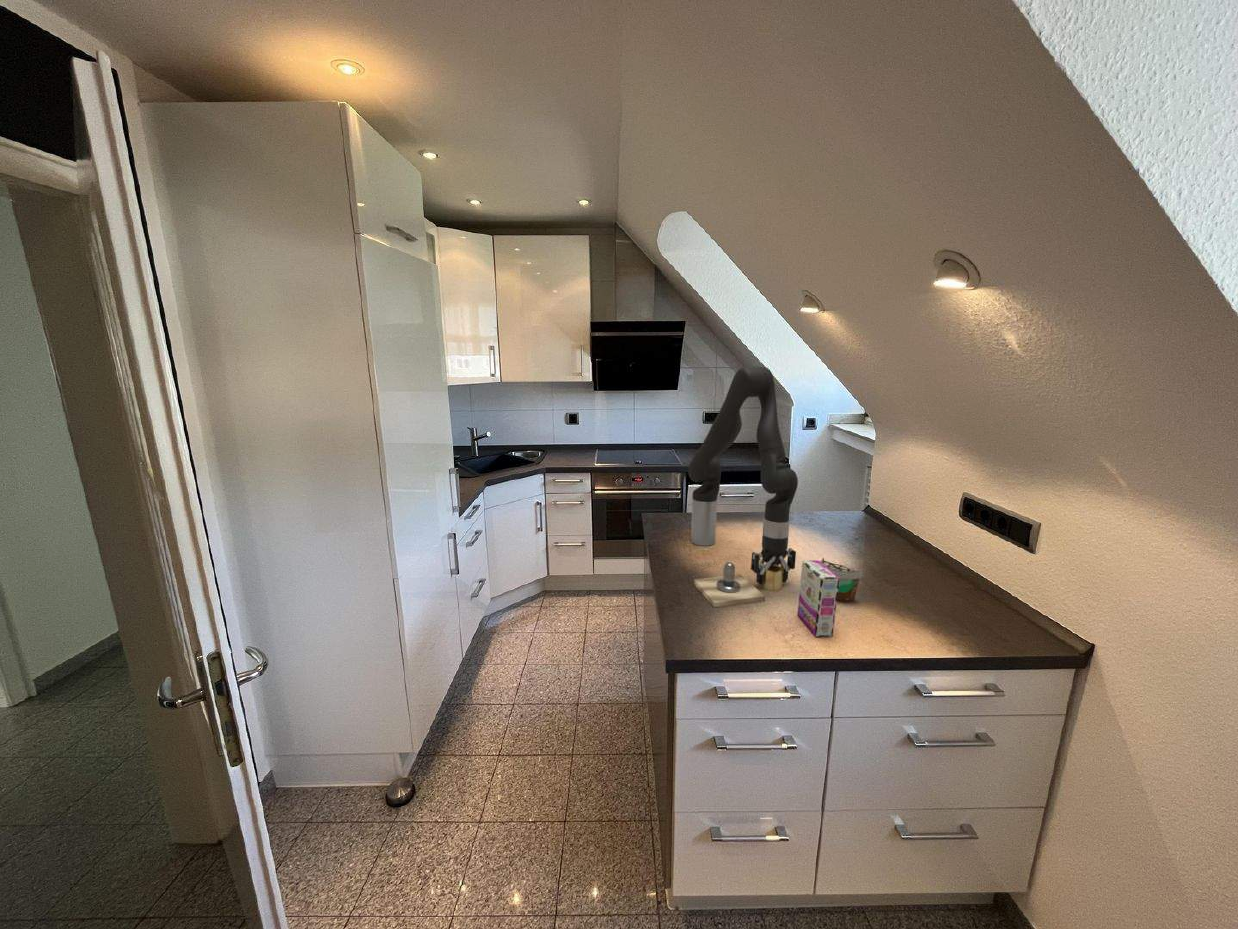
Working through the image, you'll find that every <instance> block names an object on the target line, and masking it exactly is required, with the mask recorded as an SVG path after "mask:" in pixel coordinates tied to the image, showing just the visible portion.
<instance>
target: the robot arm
mask: <svg viewBox="0 0 1238 929" xmlns="http://www.w3.org/2000/svg"><path fill="white" fill-rule="evenodd" d="M774 379H775V378H774V374H773V373H772V371H771V370H770V369H769V367H766V366H745V367H741V368H740V369H738V370H737V371H736V372H735V374H734V376H733V378H732V381H731V383H730V386H729V389H728V391H727V394H726V396H725V399H724V401H723V403H722V405H721V407H720V410H719V412H718V414H717V415H716V416H715V419H714V421H713V422H712V425H711V426H710V429H709V431H708V433H707V435H706V437H705V439H704V440H703V442H702V444H701V446H700V447H699V449H698V450H697V451H696V453H695V454H694V455H693V457H692V458H691V460H690V462H689V465H688V476H689V479H690V480H691V481H692V482H695V483H702V484H701V485H700V486H699V487H697V488H695V489H694V490H693V492H692V495H691V496H692V498H691V499H692V501H691V528H690V529H691V530H690V531H691V532H690V534H691V535H690V542H691V544H694V545H697V546H702V547H705V546H706V547H707V546H708V547H709V546H713V545H714V544H716V530H717V514H718V513H717V512H718V511H717V510H718V508H717V507H718V496H719V492H720V484H721V476H722V465H721V461H720V460H719V458H718V457H717V456H719V455H720V454H722V453H723V452H724V451H726V450H727V449H728V448H729V447H731V446H732V445H733V444H734V442H735V441H736V439H737V437H738V436H739V434H740V433H741V430H742V426H743V424H742V416H741V409H742V406H743V405H744V403H745V401H746V400H747V399H748V398H758V400H759V404H760V417H759V419H758V420H759V421H758V424H757V429H756V442H757V446H758V450H759V454H760V482H761V486H762V488H763V489H764V491H765V492H767V493H768V494H770V495H772V494H773V495H774V494H775V495H774V496H773V497H771V498H769V499H768V500H767V501H766V502H765V506H764V521H763V525H762V535H761V536H762V538H761V539H762V540H761V548H762V549H761V551H760V552H754V551H753V552H752V553H751V561H750V562H751V564H750V570H751V571H752V572H753V573H755V574H756V579H755V580H756V583H757V584H758V585H759V586H761V585H763V581H764V574H763V573H764V572H765V570H766V569H768V568H769V566H773V565H779V566H781V567H782V568H783V569H784V571H783V583H787V581H788V579H789V572H790V570H794V569H795V568H796V556H797V551H796V550H794V549H792V548H791V547H790V548H788V547H789V535H790V534H789V533H790V510H791V505H792V504H793V501H794V498H795V495H796V492H797V490H798V483H799V481H798V479H799V478H798V475H797V473H796V471H794V470H793V469H792V468H788V467H783V468H777V467H778V462H781V461H782V460H784V459H785V458H786V451H785V447H784V443H783V439H782V436H781V432H780V427H779V419H778V410H777V409H778V408H777V407H778V406H777V397H776V387H775V386H776V385H775V380H774ZM786 557H787V560H786Z"/></svg>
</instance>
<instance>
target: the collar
mask: <svg viewBox="0 0 1238 929" xmlns="http://www.w3.org/2000/svg"><path fill="white" fill-rule="evenodd" d="M783 571H784V569H783V568H782V567H781V565H773V566H769V568H768V569H766V570H765V572H764V573H763V574H764V581H763V585H760V586H761V587H762V588H763V589H765V590H768V591H773V592H775V591H780V590H781V589H782V588H783V583H784V582H783Z"/></svg>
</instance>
